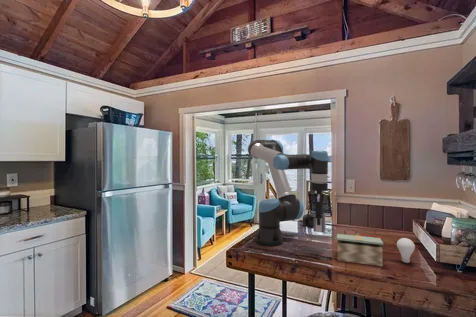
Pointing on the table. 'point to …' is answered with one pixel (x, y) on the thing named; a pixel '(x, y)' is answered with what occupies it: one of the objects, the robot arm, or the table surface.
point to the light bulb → (405, 249)
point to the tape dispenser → (369, 235)
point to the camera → (309, 219)
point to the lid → (359, 239)
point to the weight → (322, 223)
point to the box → (360, 252)
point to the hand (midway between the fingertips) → (319, 229)
